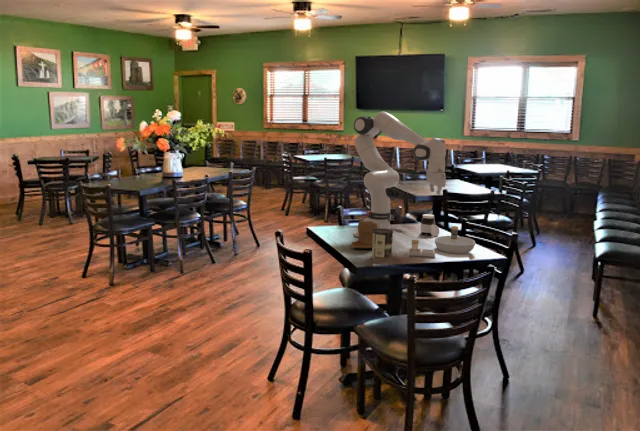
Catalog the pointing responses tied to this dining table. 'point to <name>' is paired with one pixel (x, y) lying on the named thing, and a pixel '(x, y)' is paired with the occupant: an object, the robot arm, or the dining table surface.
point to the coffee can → (382, 243)
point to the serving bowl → (454, 244)
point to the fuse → (415, 245)
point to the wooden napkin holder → (365, 235)
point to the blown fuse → (454, 233)
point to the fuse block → (425, 253)
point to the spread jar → (429, 225)
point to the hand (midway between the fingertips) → (435, 193)
